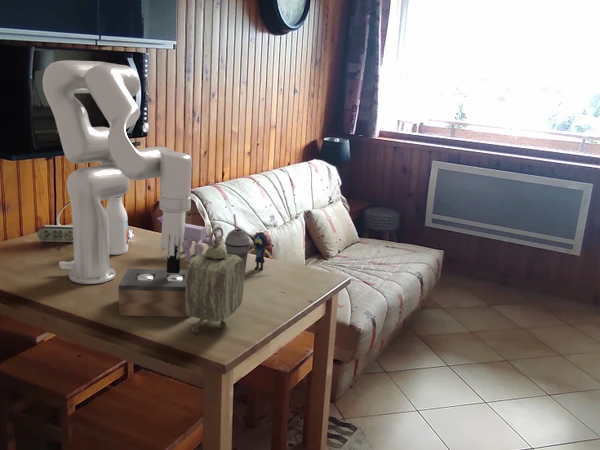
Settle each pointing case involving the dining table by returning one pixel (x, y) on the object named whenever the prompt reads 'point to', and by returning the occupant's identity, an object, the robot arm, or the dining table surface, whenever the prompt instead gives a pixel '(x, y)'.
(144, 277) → the left peg
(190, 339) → the dining table surface
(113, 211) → the milk bottle
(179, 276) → the right peg
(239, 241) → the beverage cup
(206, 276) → the tabletop clock
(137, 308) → the peg block
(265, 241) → the character figure
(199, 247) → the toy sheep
